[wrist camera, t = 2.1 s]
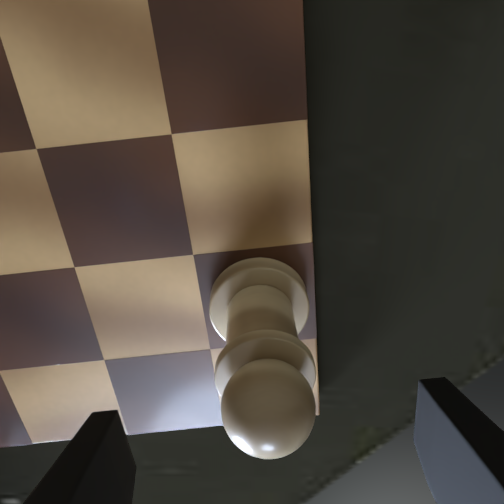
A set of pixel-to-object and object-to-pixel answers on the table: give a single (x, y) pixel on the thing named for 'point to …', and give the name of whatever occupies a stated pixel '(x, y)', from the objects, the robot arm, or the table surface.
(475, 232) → the table surface
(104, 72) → the chessboard
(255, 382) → the pawn
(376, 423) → the table surface
